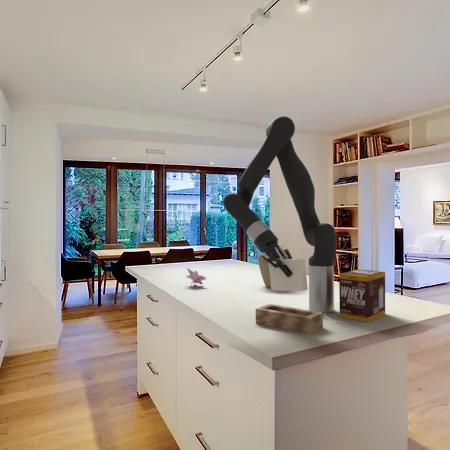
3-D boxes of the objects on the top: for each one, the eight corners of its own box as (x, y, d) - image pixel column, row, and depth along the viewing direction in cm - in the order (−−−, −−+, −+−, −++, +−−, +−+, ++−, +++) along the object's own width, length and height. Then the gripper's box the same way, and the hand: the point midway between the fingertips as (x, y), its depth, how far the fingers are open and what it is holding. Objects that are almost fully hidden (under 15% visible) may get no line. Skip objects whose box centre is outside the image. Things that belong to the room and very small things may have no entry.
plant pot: (285, 283, 194) (285, 254, 194) (287, 289, 179) (287, 257, 179) (257, 283, 196) (257, 254, 195) (257, 289, 181) (257, 257, 181)
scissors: (319, 310, 137) (361, 322, 119) (319, 312, 137) (361, 324, 119) (297, 314, 132) (338, 327, 114) (297, 316, 132) (338, 330, 114)
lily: (207, 290, 185) (211, 272, 189) (187, 283, 180) (191, 265, 185) (197, 293, 195) (200, 277, 199) (177, 287, 190) (181, 270, 194)
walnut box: (255, 322, 122) (255, 308, 121) (270, 317, 128) (270, 303, 128) (309, 334, 109) (309, 318, 109) (322, 327, 116) (322, 312, 115)
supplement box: (338, 317, 128) (338, 273, 128) (358, 309, 139) (358, 268, 138) (367, 322, 120) (367, 276, 120) (385, 313, 131) (385, 271, 131)
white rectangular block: (271, 290, 121) (268, 260, 121) (275, 288, 123) (273, 259, 124) (303, 291, 113) (300, 259, 114) (307, 289, 115) (304, 258, 116)
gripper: (256, 229, 118) (289, 269, 110) (279, 228, 128) (310, 265, 121) (243, 245, 121) (274, 285, 113) (266, 242, 132) (296, 279, 124)
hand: (293, 274), depth 117 cm, fingers closed on white rectangular block, 3 cm apart
